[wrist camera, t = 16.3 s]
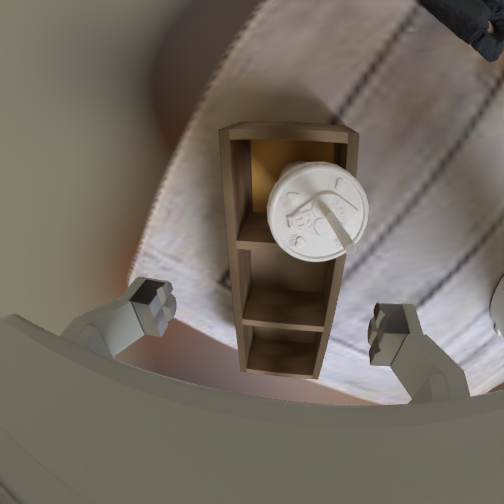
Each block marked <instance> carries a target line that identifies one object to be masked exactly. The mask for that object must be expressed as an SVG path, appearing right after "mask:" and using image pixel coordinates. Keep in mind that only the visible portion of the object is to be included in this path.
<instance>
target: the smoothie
mask: <svg viewBox="0 0 504 504" xmlns="http://www.w3.org/2000/svg"><path fill="white" fill-rule="evenodd" d="M368 215H369V207H368V200H367V197H366V194H365V192H364V190H363V188H362V186H361V185H360V183H359V182H358V181H357V180H356V179H355V178H354V177H353V176H352V175H351V174H350V173H349V172H348V171H347V170H345V169H343V168H342V167H340V166H338V165H335V164H332V163H328V162H307V161H303V160H295V161H292V162H290V163H288V164H287V165H285V166H284V167H283V169H282V170H281V173H280V176H279V180H278V181H277V182H276V184H275V186H274V188H273V190H272V191H271V193H270V195H269V200H268V205H267V220H268V223H269V226H270V230H271V233H272V235H273V237H274V239H275V241H276V242H277V243H278V245H279V246H280V247H281V248H282V249H283V250H284V251H285V252H287V253H288V254H290V255H291V256H293V257H295V258H298V259H301V260H304V261H311V262H321V261H327V260H331V259H334V258H337V257H339V256H341V255H343V254H344V253H347V254H353V253H354V252H355V251H356V245H355V244H356V243H357V242H358V240H359V239H360V238H361V236H362V234H363V232H364V230H365V228H366V225H367V221H368Z"/></svg>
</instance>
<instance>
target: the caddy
mask: <svg viewBox="0 0 504 504" xmlns="http://www.w3.org/2000/svg"><path fill="white" fill-rule="evenodd" d="M219 142H220V157H221V172H222V185H223V198H224V211H225V223H226V234H227V246H228V257H229V267H230V278H231V288H232V298H233V308H234V317H235V326H236V335H237V344H238V353H239V362H240V370H241V371H243V372H250V373H257V374H265V375H274V376H283V377H294V378H306V379H318V377H319V374H320V370H321V367H322V363H323V359H324V355H325V352H326V348H327V344H328V340H329V336H330V331H331V327H332V323H333V319H334V314H335V310H336V305H337V300H338V295H339V290H340V285H341V280H342V275H343V269H344V263H345V258H346V253H344V254H343V255H341V256H339V257H337V258H334V259H331V260H327V261H321V262H311V261H304V260H301V259H298V258H295V257H293V256H291V255H290V254H288V253H287V252H285V251H284V250H283V249H282V248H281V247H280V246H279V245H278V243H277V242H276V241H275V239H274V237H273V235H272V233H271V230H270V226H269V223H268V220H267V205H268V200H269V195H270V193H271V191H272V190H273V188H274V186H275V184H276V182H277V181H278V180H279V176H280V173H281V170H282V169H283V167H284V166H285V165H287V164H288V163H290V162H292V161H295V160H303V161H307V162H328V163H332V164H335V165H338V166H340V167H342V168H343V169H345V170H347V171H348V172H349V173H350V174H351V175H352V176H353V177H354V178H355V179H356V171H357V159H358V144H359V134H358V133H357V132H355V131H354V130H352V129H351V128H349V127H347V126H341V125H329V124H315V123H293V122H241V123H237V124H234V125H231V126H228V127H225V128H222V129H219Z"/></svg>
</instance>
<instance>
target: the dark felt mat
mask: <svg viewBox="0 0 504 504" xmlns="http://www.w3.org/2000/svg"><path fill="white" fill-rule="evenodd" d="M420 1H421V2H422V3H423V4H424V6H425V7H426V9H427V10H428V11H429V12H430V13H431V14H433V15H434V16H435V17H436V18H437V19H438V20H439V21H441V22H442V23H443V24H445V25H446V26H447V27H448V28H449V29H450V30H451V31H452V32H453V33H455V34H456V35H457V36H458V37H459V38H461V39H465V40H466V42H467V43H468V44H471V45H472V46H473V47H474V48H475V50H476V51H478V50H479V51H480V52H481V54H482V55H483V56H484V57H486V58H487V60H488V61H489V62H491V61H495V60H497V59H498V57H499V55H500V54H501V53H502V52H503V48H504V0H420ZM488 20H489V21H490V22H491V23H492V24H493V26H494V30H495V32H494V34H489V33H488V32H487V30H488V29H489V23H488Z"/></svg>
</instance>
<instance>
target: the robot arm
mask: <svg viewBox="0 0 504 504" xmlns="http://www.w3.org/2000/svg"><path fill="white" fill-rule="evenodd" d="M172 290H173V288H172V285H171V283H170V282H168V281H163V280H158V279H152V278H145V277H137V278H136V279H135V280H134V281H133V283H132V284H131V285H130V286H129V287H128V288H127V290H126V291H125V292H124V293H123V294H122V296H121V297H120V298H119V299H114V300H112V301H110V302H108V303H106V304H104V305H101V306H99V307H97V308H95V309H93V310H91V311H89V312H87V313H85V314H83V315H81V316H79V317H77V318H75V319H73V321H72V322H71V323H70V324H69V325H68V326H67V328H66V329H65V330H64V331H63V333H62V334H61V335H60V336H58V335H56V334H53V333H51V332H49V331H47V330H45V329H43V328H41V327H39V326H38V325H36V324H34V323H32V322H30V321H28V320H26V319H25V318H23V317H21V316H20V315H18V314H9V315H6V316H4V317H2V318H0V504H504V390H500V391H496V392H491V393H487V394H482V395H477V396H471V397H470V393H469V389H468V385H467V381H466V377H465V374H464V371H463V370H462V369H461V368H460V367H459V366H458V365H457V364H456V363H455V362H454V361H453V360H452V359H451V358H450V357H449V356H448V355H447V354H446V353H445V352H444V351H443V350H442V349H441V348H440V347H439V346H438V345H437V344H436V343H435V342H434V341H433V340H432V339H431V338H430V337H428V336H427V335H423V332H422V329H421V325H420V322H419V319H418V316H417V313H416V310H415V307H414V305H413V304H391V303H377V304H376V305H375V308H374V317H373V318H372V319H371V320H370V323H369V327H368V343H369V344H370V345H371V348H370V350H369V357H370V365H375V366H391V369H392V370H393V372H394V373H395V375H396V376H397V377H398V379H399V380H400V382H401V383H402V385H403V386H404V388H405V389H406V391H407V392H408V393H409V395H410V396H411V398H412V400H411V401H410V402H409V403H408V404H398V405H337V404H318V403H306V402H296V401H286V400H278V399H270V398H263V397H257V396H251V395H244V394H239V393H234V392H228V391H224V390H219V389H214V388H209V387H205V386H201V385H196V384H192V383H188V382H185V381H181V380H177V379H173V378H170V377H166V376H163V375H159V374H156V373H153V372H149V371H146V370H143V369H140V368H137V367H134V366H131V365H128V364H125V363H122V362H120V361H117V360H115V359H114V358H113V356H115V355H116V354H117V353H119V352H120V351H122V350H123V349H125V348H126V347H127V346H129V345H130V344H132V343H133V342H135V341H136V340H137V339H139V338H140V337H142V336H143V335H144V334H149V335H153V336H158V337H162V335H163V334H164V332H165V330H166V328H167V327H168V325H167V322H168V321H169V320H171V319H172V318H173V317H174V315H175V312H176V299H175V297H174V296H173V295H172V294H171V292H172ZM490 313H491V317H492V319H493V320H494V322H495V324H496V325H495V332H496V333H497V335H498V336H503V337H504V276H503V278H502V279H501V281H500V283H499V284H498V286H497V288H496V290H495V293H494V295H493V298H492V302H491V307H490Z"/></svg>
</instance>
